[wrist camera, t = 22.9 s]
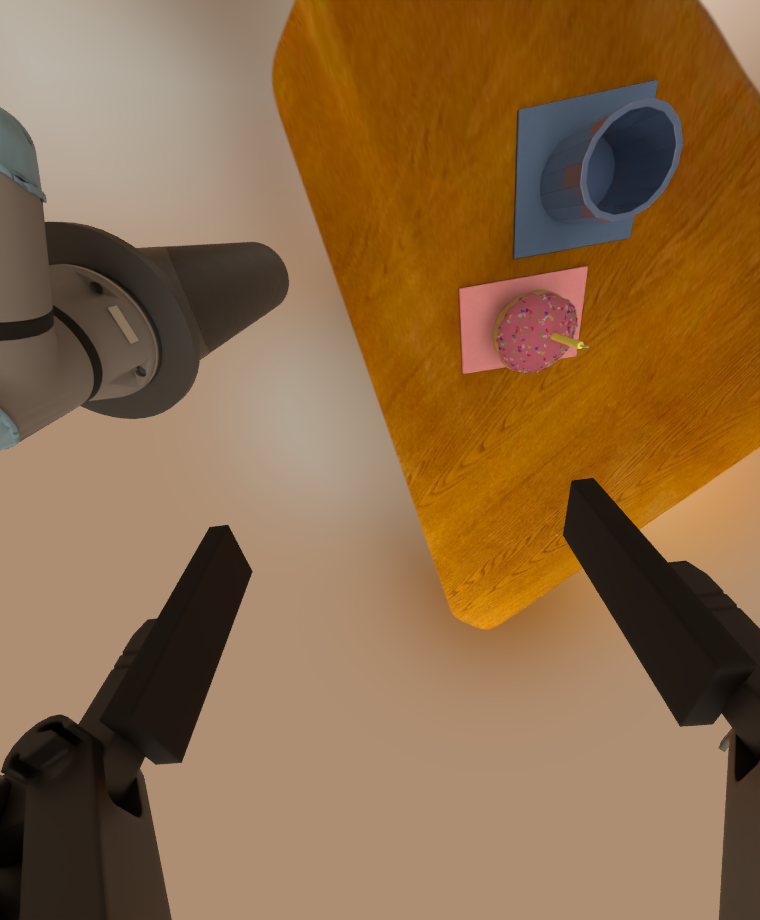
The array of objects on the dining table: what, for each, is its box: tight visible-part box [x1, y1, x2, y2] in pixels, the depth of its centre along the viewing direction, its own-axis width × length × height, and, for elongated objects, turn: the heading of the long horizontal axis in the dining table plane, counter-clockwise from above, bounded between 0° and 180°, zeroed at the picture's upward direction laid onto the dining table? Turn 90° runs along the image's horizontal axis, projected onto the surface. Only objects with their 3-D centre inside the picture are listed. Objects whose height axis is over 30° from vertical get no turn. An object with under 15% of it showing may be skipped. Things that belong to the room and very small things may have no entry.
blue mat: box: [513, 80, 658, 259], centre depth 35 cm, size 12×12×1 cm
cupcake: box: [492, 289, 589, 373], centre depth 37 cm, size 9×8×12 cm
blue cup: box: [540, 97, 683, 224], centre depth 32 cm, size 7×7×9 cm
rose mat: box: [459, 266, 588, 374], centre depth 43 cm, size 14×10×1 cm
